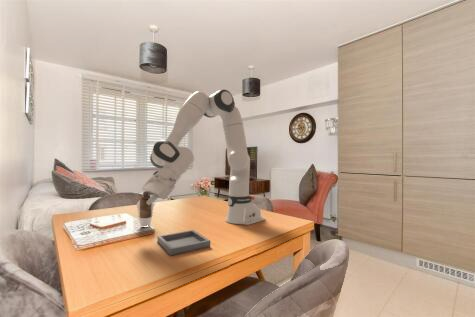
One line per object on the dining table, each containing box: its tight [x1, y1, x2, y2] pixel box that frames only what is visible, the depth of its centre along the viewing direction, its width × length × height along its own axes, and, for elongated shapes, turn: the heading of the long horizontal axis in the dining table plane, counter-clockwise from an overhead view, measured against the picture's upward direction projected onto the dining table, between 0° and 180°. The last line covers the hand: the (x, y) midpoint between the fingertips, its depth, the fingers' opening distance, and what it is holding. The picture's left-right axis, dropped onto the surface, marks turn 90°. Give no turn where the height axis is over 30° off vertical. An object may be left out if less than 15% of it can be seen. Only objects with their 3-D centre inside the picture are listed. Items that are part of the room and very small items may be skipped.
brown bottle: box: [139, 191, 153, 218], centre depth 99 cm, size 5×5×11 cm
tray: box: [156, 229, 211, 257], centre depth 96 cm, size 16×16×2 cm
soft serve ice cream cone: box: [136, 200, 156, 227], centre depth 119 cm, size 8×8×16 cm
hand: (144, 202), depth 99 cm, fingers closed on brown bottle, 5 cm apart
